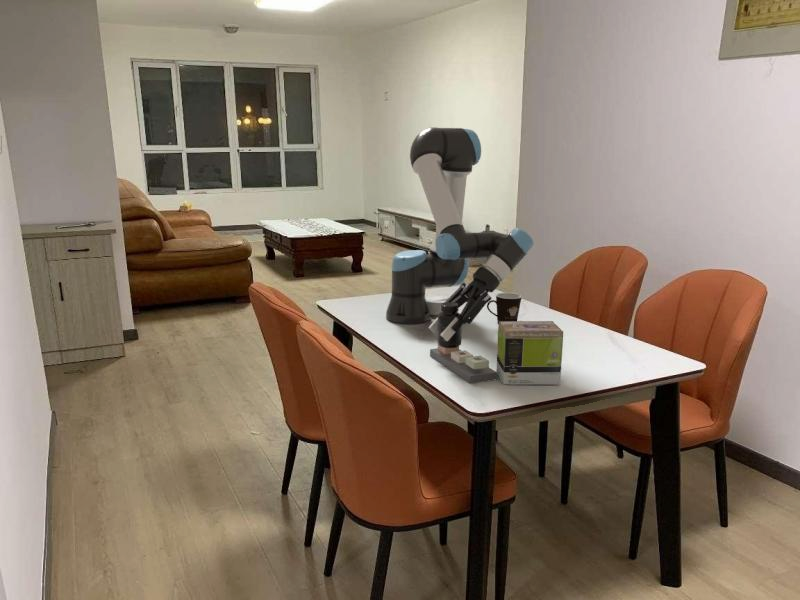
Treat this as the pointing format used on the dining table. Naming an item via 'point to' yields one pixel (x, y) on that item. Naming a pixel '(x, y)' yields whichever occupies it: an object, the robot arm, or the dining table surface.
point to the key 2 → (477, 362)
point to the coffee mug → (506, 306)
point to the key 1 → (447, 349)
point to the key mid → (460, 356)
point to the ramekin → (435, 303)
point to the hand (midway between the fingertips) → (437, 334)
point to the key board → (463, 368)
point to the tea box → (529, 352)
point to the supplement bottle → (444, 320)
